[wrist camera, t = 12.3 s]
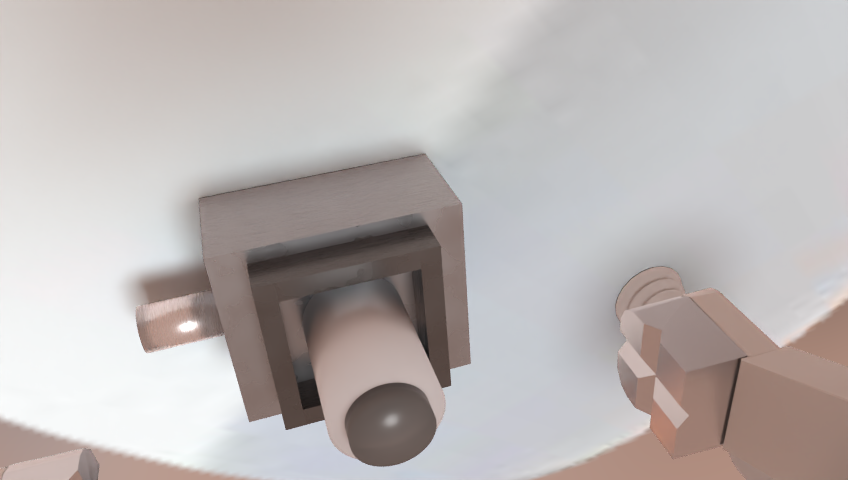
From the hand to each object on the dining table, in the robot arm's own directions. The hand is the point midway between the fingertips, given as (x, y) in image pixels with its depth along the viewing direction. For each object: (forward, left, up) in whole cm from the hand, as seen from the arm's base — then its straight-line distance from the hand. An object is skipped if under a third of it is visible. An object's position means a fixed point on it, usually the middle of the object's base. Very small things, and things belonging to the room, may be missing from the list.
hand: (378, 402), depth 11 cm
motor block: (0, +14, -26) cm, 30 cm away
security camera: (-2, +14, -20) cm, 25 cm away
